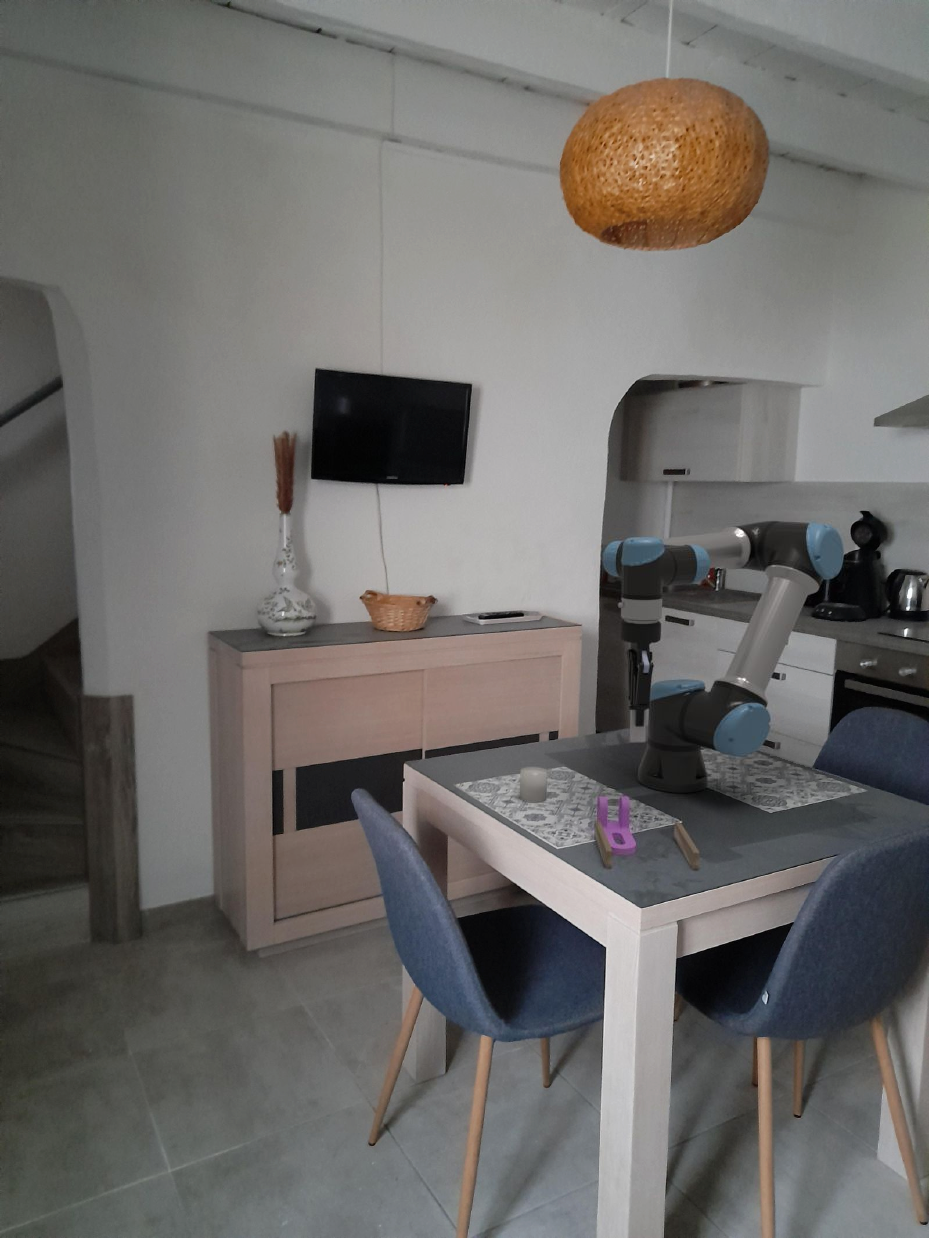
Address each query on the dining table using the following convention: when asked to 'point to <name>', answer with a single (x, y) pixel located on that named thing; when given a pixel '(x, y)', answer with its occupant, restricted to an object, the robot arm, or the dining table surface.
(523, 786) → the white pillar candle
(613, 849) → the bracket
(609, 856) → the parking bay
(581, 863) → the dining table surface
